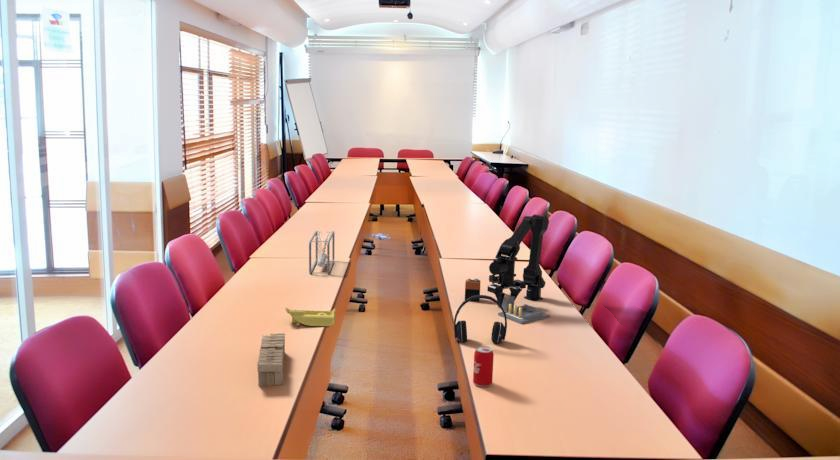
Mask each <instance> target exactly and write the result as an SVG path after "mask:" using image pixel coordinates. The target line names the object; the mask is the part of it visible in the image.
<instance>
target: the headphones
mask: <svg viewBox="0 0 840 460" xmlns="http://www.w3.org/2000/svg"><path fill="white" fill-rule="evenodd" d="M473 299H485V300H490V301H491V302H493V303H495V304H496V305H497V307H498V306H499V307H500V308H501V309H500V308H499V309H500V310H501V312H503V314H504V317H505V318H504V317H503V318H504V323H503V322H502V321H494V322H493V326H492V328H491V338H490V339H491V342H492V343H496V344H500V343H501V342H502V341H505V339H506V335H507V328H508V321H507V320H508V319H507V318H506V314H505V311H506V310H504V309H503V308H502V306H501V304H500V303H499V302H498V301H497V298H496V299H495V298H494V297H492V296H490V295H486V294H485V295H484V294H480V295H475V296H471V297H469V298H468V299H466V300H465V299H464V301H463V302H462V303H461V304H460V305H459V307H458V308H457V310H456V313H455V314H454V317H453V318H454V319H453V330H454V339H455V340H456V339H457V341H458V342H461V343H462V342H463V343H464V342H467V341H468V330H467V328H468V327H467V321H466V320H458V321H457V318H458V315H459V312H460V311H461V309H462V308H463V307H464V306H465V305H466V304H467V303H469V302H472V301H471V300H473Z"/></svg>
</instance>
